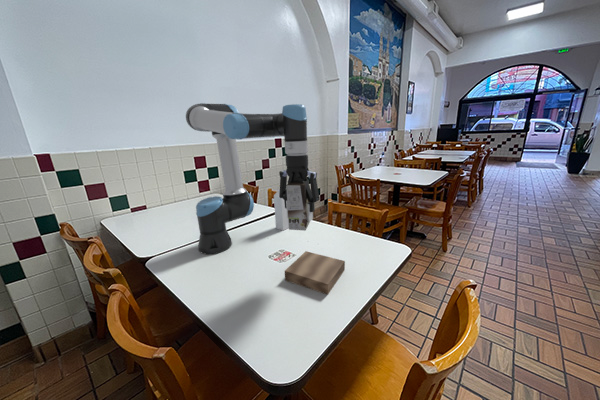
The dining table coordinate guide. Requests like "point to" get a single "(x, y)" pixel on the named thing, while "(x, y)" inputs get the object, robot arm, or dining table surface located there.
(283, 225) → the milk
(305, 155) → the robot arm
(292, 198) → the coffee box
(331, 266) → the walnut pedestal
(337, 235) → the dining table surface
